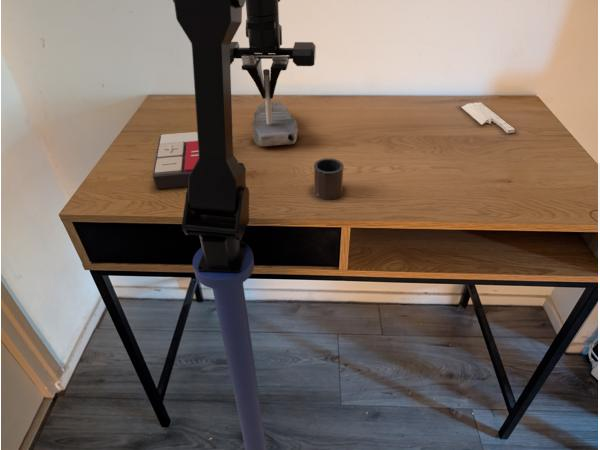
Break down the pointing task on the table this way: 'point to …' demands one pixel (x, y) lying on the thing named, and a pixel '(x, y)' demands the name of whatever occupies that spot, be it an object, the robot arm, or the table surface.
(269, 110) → the stylus
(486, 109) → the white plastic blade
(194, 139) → the calculator
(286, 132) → the handheld device
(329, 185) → the pen cup
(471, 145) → the table surface
